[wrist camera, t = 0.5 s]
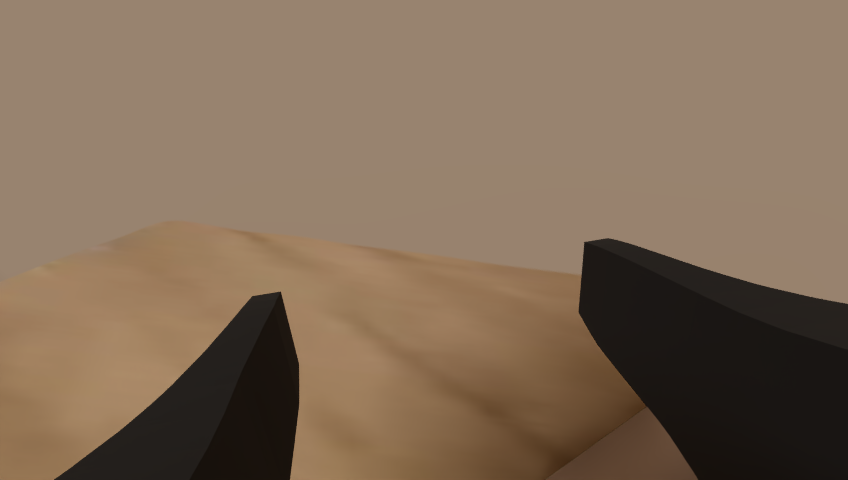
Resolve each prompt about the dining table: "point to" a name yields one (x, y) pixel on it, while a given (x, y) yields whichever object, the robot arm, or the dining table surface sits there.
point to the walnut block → (630, 455)
